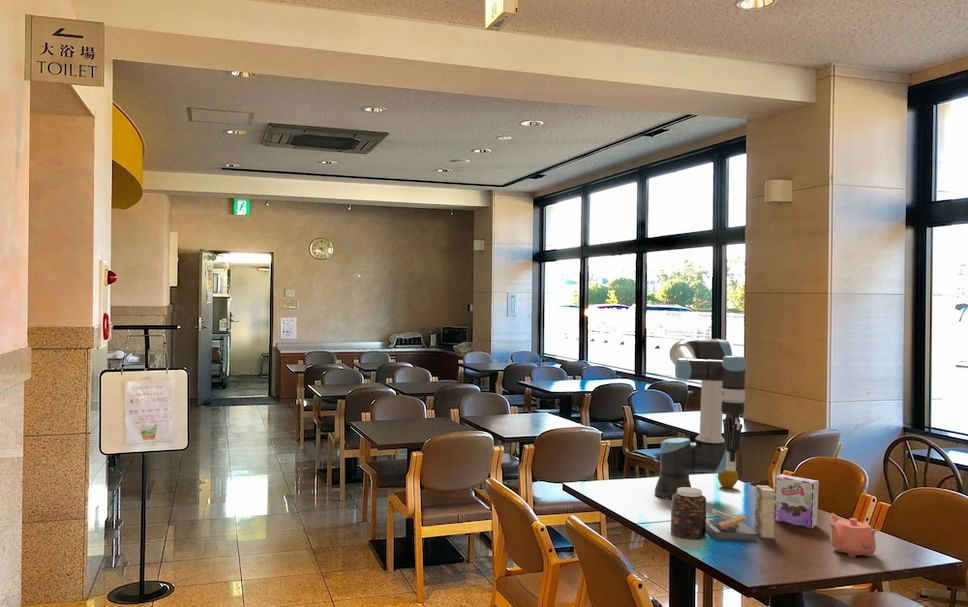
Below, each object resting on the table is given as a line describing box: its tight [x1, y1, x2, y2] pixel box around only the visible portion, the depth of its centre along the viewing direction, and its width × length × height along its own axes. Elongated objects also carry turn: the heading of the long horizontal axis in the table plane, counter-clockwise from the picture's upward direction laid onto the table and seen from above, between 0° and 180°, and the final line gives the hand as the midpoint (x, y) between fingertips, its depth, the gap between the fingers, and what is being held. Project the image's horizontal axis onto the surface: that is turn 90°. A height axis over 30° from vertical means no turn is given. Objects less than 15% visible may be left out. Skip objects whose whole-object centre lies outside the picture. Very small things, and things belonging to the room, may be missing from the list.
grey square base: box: [706, 518, 758, 542], centre depth 262 cm, size 15×14×4 cm
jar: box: [670, 486, 707, 540], centre depth 260 cm, size 12×12×15 cm
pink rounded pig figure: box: [827, 512, 879, 558], centre depth 245 cm, size 14×14×11 cm
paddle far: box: [711, 508, 735, 520], centre depth 266 cm, size 3×9×1 cm, turn 91°
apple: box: [717, 470, 739, 489], centre depth 332 cm, size 8×8×9 cm
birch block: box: [753, 484, 775, 539], centre depth 262 cm, size 7×4×16 cm, turn 0°
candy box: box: [774, 474, 820, 529], centre depth 279 cm, size 14×6×16 cm, turn 47°
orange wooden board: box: [718, 514, 748, 529], centre depth 259 cm, size 3×9×1 cm, turn 91°
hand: (730, 470), depth 262 cm, fingers closed
